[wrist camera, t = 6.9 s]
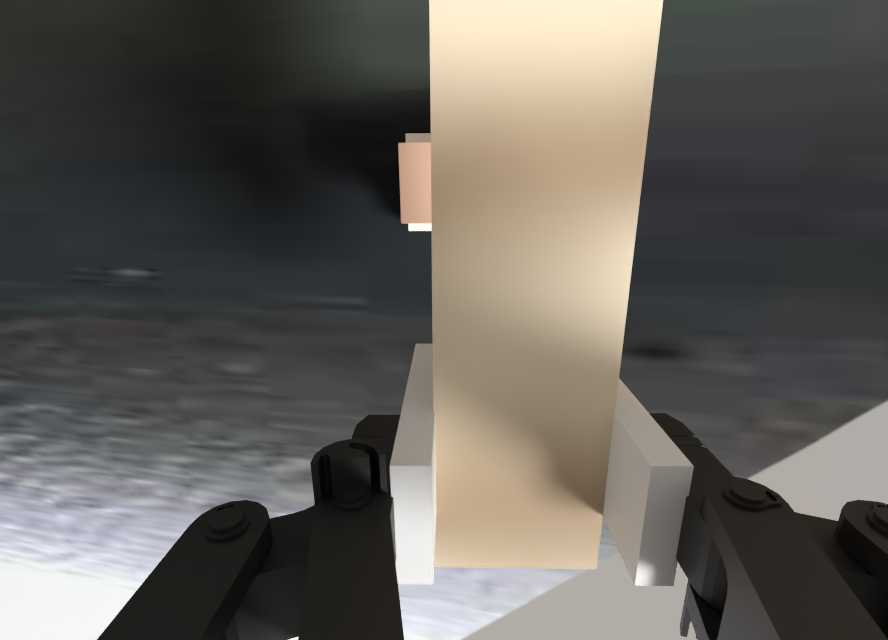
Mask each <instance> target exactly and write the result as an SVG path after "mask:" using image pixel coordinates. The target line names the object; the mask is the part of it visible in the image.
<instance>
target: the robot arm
mask: <svg viewBox="0 0 888 640" xmlns="http://www.w3.org/2000/svg"><path fill="white" fill-rule="evenodd" d="M311 472H312V481H313V490H314V500H315V505H314V506H312V507H310V508H308V509H306V510H303V511H300V512H296V513H293V514H289V515H284V516H280V517H275V518H271V519H269V515H268V512H267V509H266V508H265V507H264V506H263V505H261V504H260V503H258V502H253V501H248V500H243V501H232V502H228V503H225V504H222V505H219V506H216V507H214V508H212V509H210V510H209V511H207V512H205V513H203V514H202V515H200V516H199V517H198V518H197V519H196V520H195V521H194V522H193V523H192V524H191V525H190V526H189V527H188V528H187V529H186V531H185V532H184V533H183V534H182V536H181V537H180V538H179V539H178V541H177V542H176V543H175V544H174V546H173V547H172V548H171V549H170V550H169V552H168V553H167V554H166V555H165V557H164V558H163V559H162V560H161V562H160V563H159V564H158V565H157V566H156V568H155V569H154V570H153V571H152V573H151V574H150V575H149V576H148V578H147V579H146V580H145V581H144V583H143V584H142V585H141V586H140V587H139V589H138V590H137V591H136V592H135V594H134V595H133V596H132V597H131V599H130V600H129V601H128V602H127V603H126V605H125V606H124V607H123V608H122V610H121V611H120V612H119V613H118V615H117V616H116V617H115V618H114V620H113V621H112V622H111V623H110V624H109V626H108V627H107V628H106V629H105V631H104V632H103V633H102V634H101V636H100V637H99V638H98V639H97V640H288V639H291V638H294V637H298V636H299V639H298V640H404V636H403V627H402V618H401V609H400V600H399V591H398V584H433V580H434V557H435V534H436V456H435V412H433V344H416V346H415V350H414V355H413V360H412V364H411V369H410V374H409V378H408V383H407V387H406V392H405V397H404V401H403V406H402V411H401V415H368V416H367V417H365V418H364V419H363V420H362V421H361V422H360V423H358V424H357V425H356V428H355V431H354V433H353V436H352V439H348V440H344V441H339V442H335V443H333V444H330V445H328V446H326V447H323V448H322V449H321V450H320V451H319V452H317V453H316V454H315V455H314V457H313V459H312V461H311ZM603 517H604V519H605V521H606V523H607V525H608V528H609V530H610V532H611V534H612V536H613V539H614V541H615V543H616V545H617V548H618V550H619V552H620V554H621V556H622V559H623V561H624V563H625V565H626V567H627V570H628V572H629V574H630V576H631V578H632V581H633V583H634V585H636V586H640V585H641V586H644V585H645V586H673V585H674V579H675V573H676V567H677V561H678V562H679V564H680V566H681V568H682V569H683V571H684V573H685V574H686V576H687V578H688V584H687V590H686V595H685V600H684V606H683V611H682V617H681V622H680V634H681V636H685V637H687V634H688V629H689V623H690V622H691V621H692V624H693V627H694V630H695V633H696V638H697V639H698V640H888V504H887V505H886V504H884V503H880V502H873V501H864V500H856V501H851V502H847V503H846V504H845V505H844V506H843V508H842V510H841V514H840V517H839V521H834V520H830V519H825V518H820V517H815V516H810V515H805V514H800V513H796V512H794V511H793V510H792V508H791V507H790V506H789V504H788V503H787V502H786V501H785V500H784V499H783V498H782V497H781V496H780V495H779V494H777V493H776V492H774V491H772V490H770V489H769V488H767V487H765V486H764V485H761V484H759V483H756V482H753V481H751V480H748V479H743V478H738V477H734V476H733V475H732V474H731V473H730V472H729V471H728V470H727V469H726V468H725V467H724V466H723V465H722V464H721V463H720V462H719V460H718V459H717V458H716V457H715V456H714V455H713V454H712V453H711V452H710V451H709V450H708V449H707V448H704V445H703V444H702V443H701V442H700V441H699V440H698V438H695V435H694V434H693V433H692V432H691V431H690V430H689V429H688V428H687V427H686V426H685V425H684V424H683V423H681V422H680V421H678V420H676V419H674V418H673V417H671V416H669V415H667V414H666V413H648V412H647V411H646V409H645V408H644V407H643V406H642V405H641V403H640V402H639V401H638V400H637V399H636V398H635V396H634V395H633V394H632V393H631V392H630V390H629V389H628V388H627V387H626V386H625V385H624V383H623V382H622V381H621V380H620V379H619V381H618V390H617V398H616V407H615V413H614V418H613V427H612V436H611V445H610V455H609V464H608V473H607V482H606V491H605V500H604V509H603Z"/></svg>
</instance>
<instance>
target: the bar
mask: <svg viewBox="0 0 888 640" xmlns="http://www.w3.org/2000/svg"><path fill="white" fill-rule="evenodd" d="M429 3H430V110H431V218H432V325H433V412H435V456H436V534H435V567H471V568H545V569H597V561H598V552H599V543H600V535H601V526H602V518H603V509H604V500H605V491H606V482H607V473H608V464H609V455H610V445H611V436H612V427H613V418H614V413H615V407H616V398H617V390H618V381H619V373H620V364H621V356H622V347H623V339H624V330H625V322H626V313H627V305H628V296H629V287H630V279H631V270H632V262H633V253H634V245H635V236H636V228H637V219H638V211H639V202H640V194H641V185H642V177H643V168H644V159H645V151H646V142H647V134H648V125H649V117H650V108H651V100H652V91H653V83H654V74H655V66H656V57H657V49H658V40H659V31H660V23H661V14H662V6H663V0H429Z"/></svg>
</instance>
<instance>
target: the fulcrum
mask: <svg viewBox="0 0 888 640" xmlns="http://www.w3.org/2000/svg"><path fill="white" fill-rule="evenodd" d="M398 151H399V178H400V205H401V224H404V223H408V227H409V231H432V218H431V133H408V134H406V143H398Z"/></svg>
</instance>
